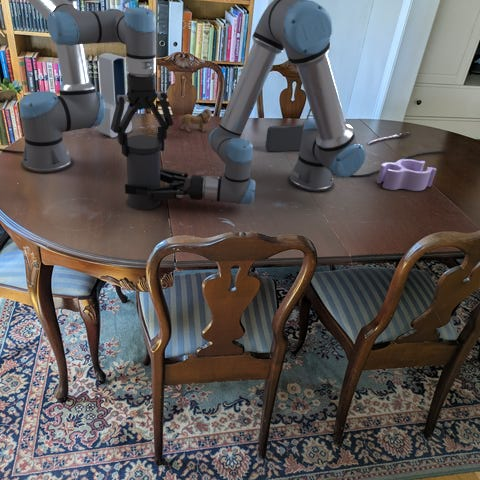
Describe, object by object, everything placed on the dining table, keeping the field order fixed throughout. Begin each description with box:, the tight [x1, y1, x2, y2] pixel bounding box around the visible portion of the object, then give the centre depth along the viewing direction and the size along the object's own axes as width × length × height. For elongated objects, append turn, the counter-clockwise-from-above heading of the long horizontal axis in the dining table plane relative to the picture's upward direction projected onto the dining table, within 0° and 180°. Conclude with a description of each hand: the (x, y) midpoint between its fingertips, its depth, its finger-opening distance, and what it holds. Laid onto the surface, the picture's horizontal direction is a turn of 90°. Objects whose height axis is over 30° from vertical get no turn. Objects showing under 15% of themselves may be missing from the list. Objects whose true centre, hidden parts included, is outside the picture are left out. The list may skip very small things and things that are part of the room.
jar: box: [125, 150, 161, 211], centre depth 139 cm, size 10×10×19 cm
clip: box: [376, 158, 437, 192], centre depth 171 cm, size 20×12×7 cm, turn 109°
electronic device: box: [96, 52, 133, 139], centre depth 181 cm, size 12×8×30 cm, turn 148°
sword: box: [367, 133, 409, 145], centre depth 213 cm, size 31×3×1 cm, turn 126°
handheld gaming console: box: [264, 124, 304, 152], centre depth 189 cm, size 23×3×10 cm, turn 108°
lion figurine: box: [177, 108, 213, 133], centre depth 197 cm, size 15×5×9 cm, turn 110°
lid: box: [127, 134, 162, 154], centre depth 134 cm, size 11×11×2 cm
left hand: (143, 152), depth 135 cm, fingers closed on lid, 10 cm apart
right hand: (129, 181), depth 140 cm, fingers closed on jar, 10 cm apart
